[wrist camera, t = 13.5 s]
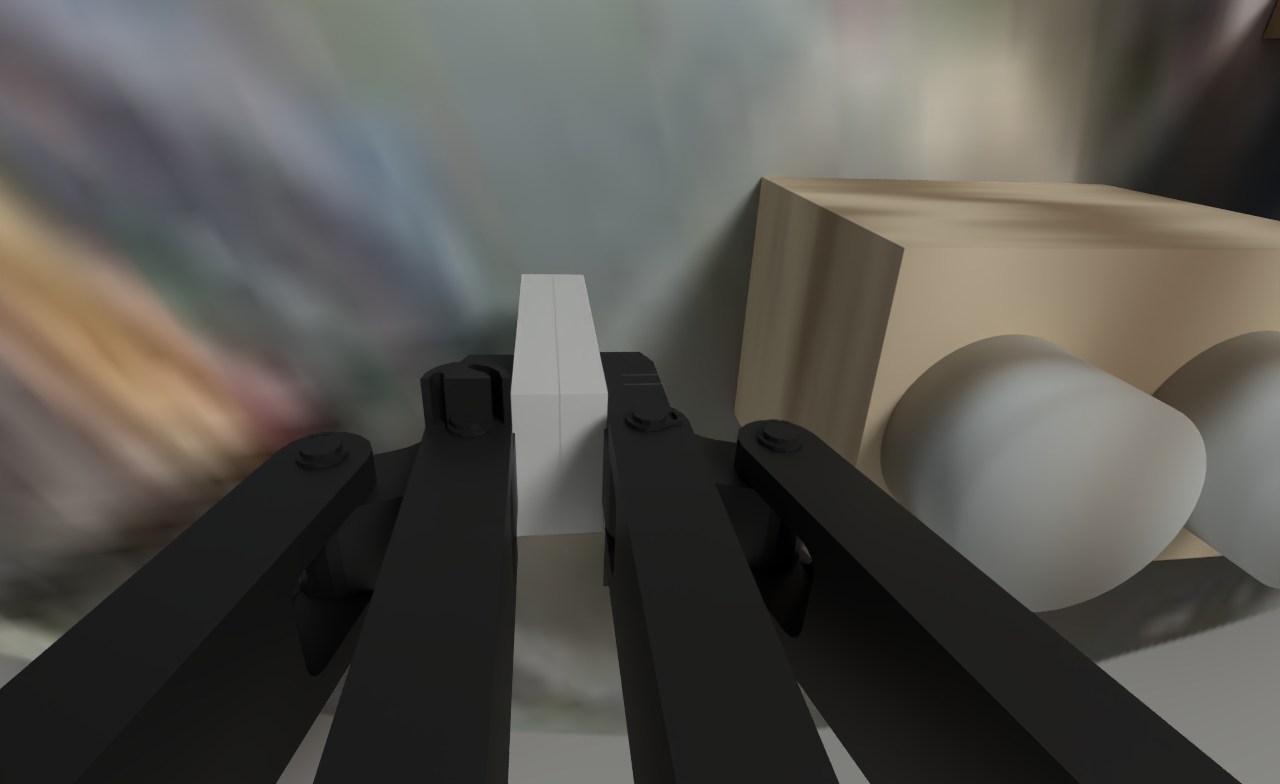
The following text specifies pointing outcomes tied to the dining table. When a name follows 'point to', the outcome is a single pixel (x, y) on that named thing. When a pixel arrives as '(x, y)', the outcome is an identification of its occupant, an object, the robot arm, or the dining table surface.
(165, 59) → the dining table surface
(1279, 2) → the wooden cubby
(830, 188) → the glass caddy
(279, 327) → the dining table surface
